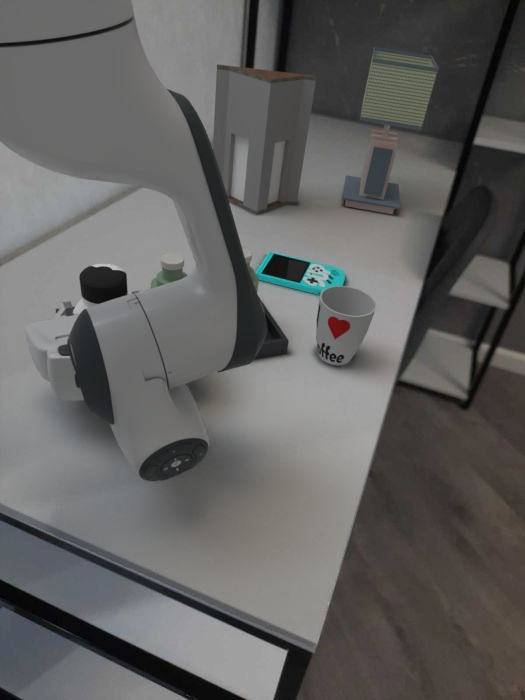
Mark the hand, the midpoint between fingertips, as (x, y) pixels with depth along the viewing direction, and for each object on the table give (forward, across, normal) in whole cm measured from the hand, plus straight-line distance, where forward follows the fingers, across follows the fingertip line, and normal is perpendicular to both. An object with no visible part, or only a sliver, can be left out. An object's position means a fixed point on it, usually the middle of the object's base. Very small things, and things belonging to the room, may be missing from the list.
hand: (102, 300), depth 69 cm
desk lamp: (+41, -77, +9) cm, 87 cm away
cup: (-11, -32, +9) cm, 35 cm away
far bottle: (0, -20, +8) cm, 22 cm away
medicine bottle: (+2, -1, +9) cm, 9 cm away
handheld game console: (+11, -39, +9) cm, 42 cm away
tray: (+1, -10, +9) cm, 13 cm away
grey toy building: (+44, -45, +9) cm, 63 cm away
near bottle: (+1, -10, +8) cm, 13 cm away
